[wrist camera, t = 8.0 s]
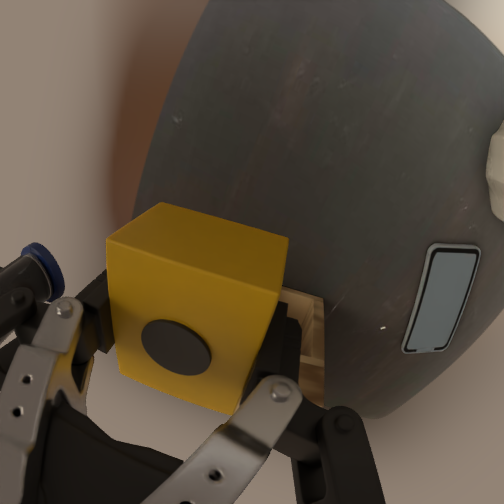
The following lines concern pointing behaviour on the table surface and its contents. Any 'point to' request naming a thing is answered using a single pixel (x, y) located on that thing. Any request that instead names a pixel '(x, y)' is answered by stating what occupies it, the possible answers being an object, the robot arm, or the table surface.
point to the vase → (496, 173)
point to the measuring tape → (192, 301)
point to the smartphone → (441, 297)
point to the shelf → (308, 341)
